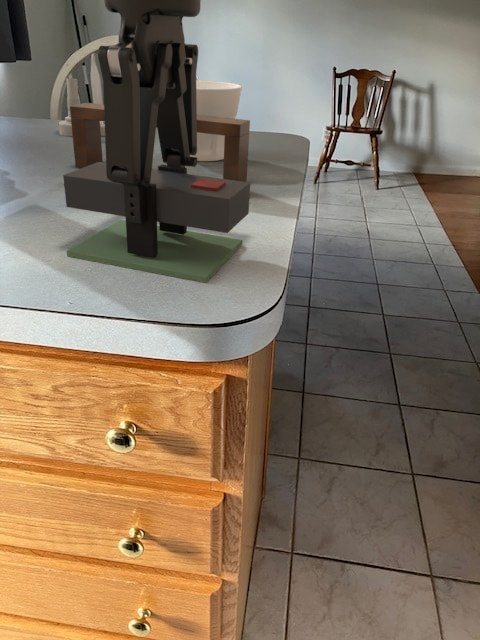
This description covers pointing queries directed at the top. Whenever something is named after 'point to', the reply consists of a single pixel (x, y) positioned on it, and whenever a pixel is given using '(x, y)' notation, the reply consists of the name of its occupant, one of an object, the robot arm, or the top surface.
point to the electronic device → (72, 99)
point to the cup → (218, 103)
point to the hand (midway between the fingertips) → (158, 241)
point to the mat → (160, 252)
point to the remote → (164, 197)
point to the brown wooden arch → (91, 114)
